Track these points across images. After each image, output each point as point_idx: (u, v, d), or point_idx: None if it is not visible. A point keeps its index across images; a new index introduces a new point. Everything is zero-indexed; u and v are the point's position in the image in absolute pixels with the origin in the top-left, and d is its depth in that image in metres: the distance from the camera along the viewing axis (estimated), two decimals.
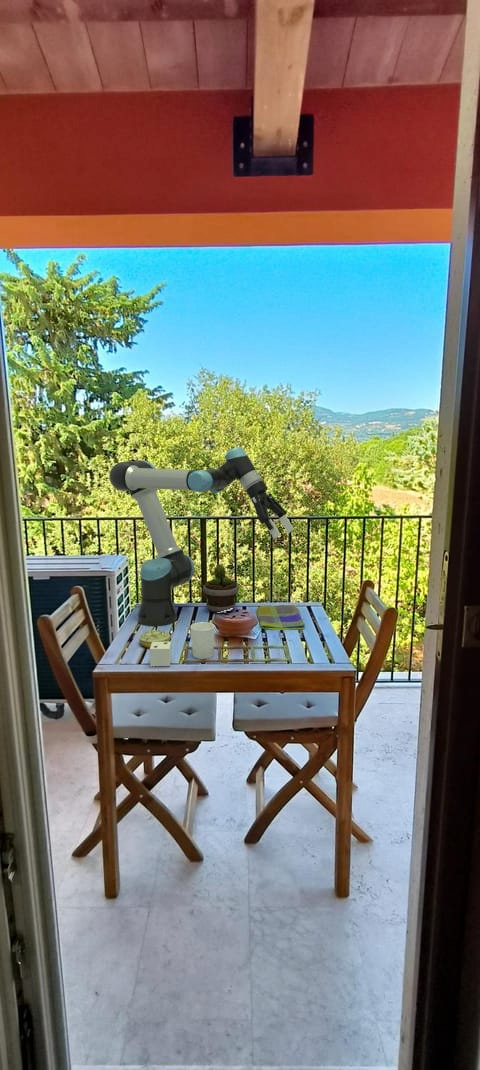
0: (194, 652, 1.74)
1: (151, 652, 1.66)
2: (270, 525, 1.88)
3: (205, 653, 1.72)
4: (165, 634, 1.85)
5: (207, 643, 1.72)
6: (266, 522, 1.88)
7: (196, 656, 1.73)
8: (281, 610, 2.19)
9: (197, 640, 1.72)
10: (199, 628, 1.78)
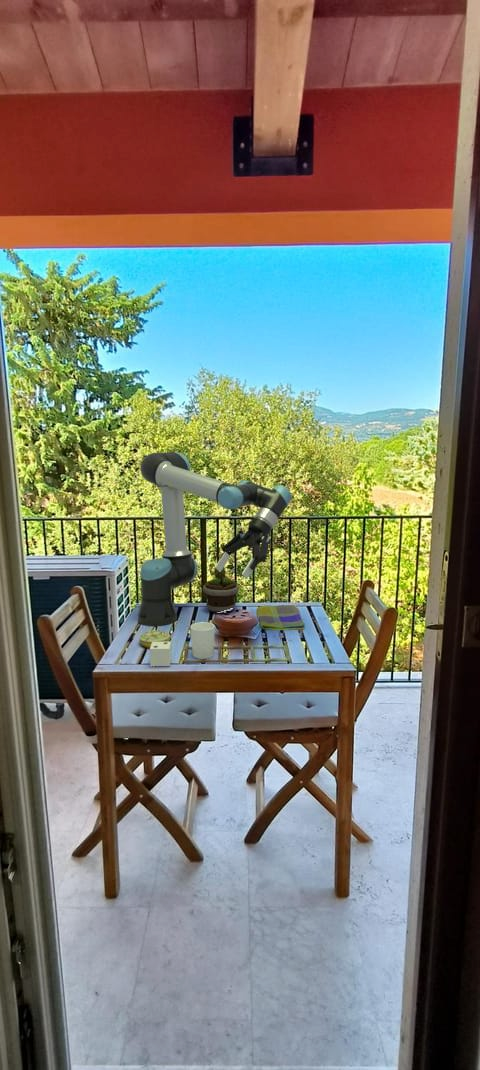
0: (194, 652, 1.74)
1: (151, 652, 1.66)
2: (255, 567, 1.76)
3: (205, 653, 1.72)
4: (165, 634, 1.85)
5: (207, 643, 1.72)
6: (257, 562, 1.76)
7: (196, 656, 1.73)
8: (281, 610, 2.19)
9: (197, 640, 1.72)
10: (199, 628, 1.78)
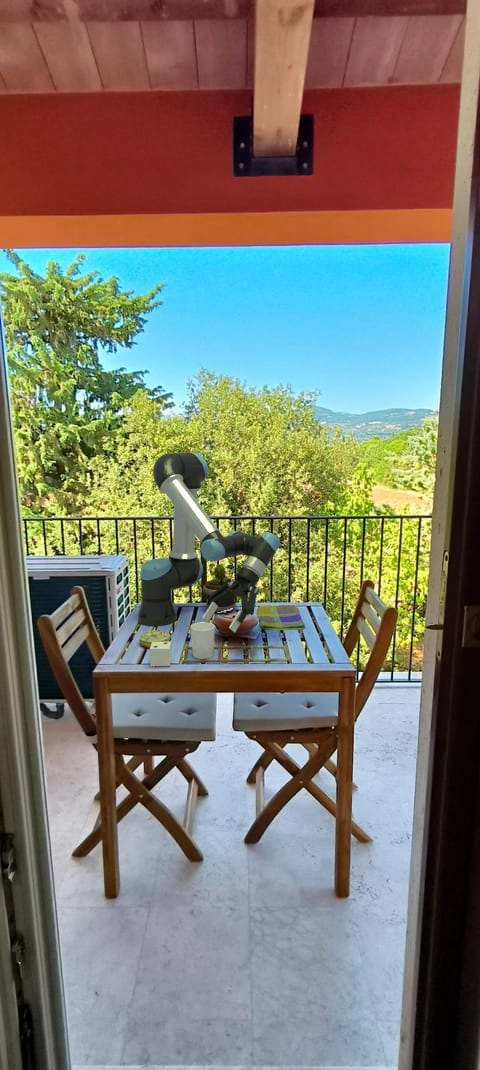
0: (194, 652, 1.74)
1: (151, 652, 1.66)
2: None
3: (205, 653, 1.72)
4: (165, 634, 1.85)
5: (207, 643, 1.72)
6: (245, 615, 1.73)
7: (196, 656, 1.73)
8: (281, 610, 2.19)
9: (197, 640, 1.72)
10: (199, 628, 1.78)
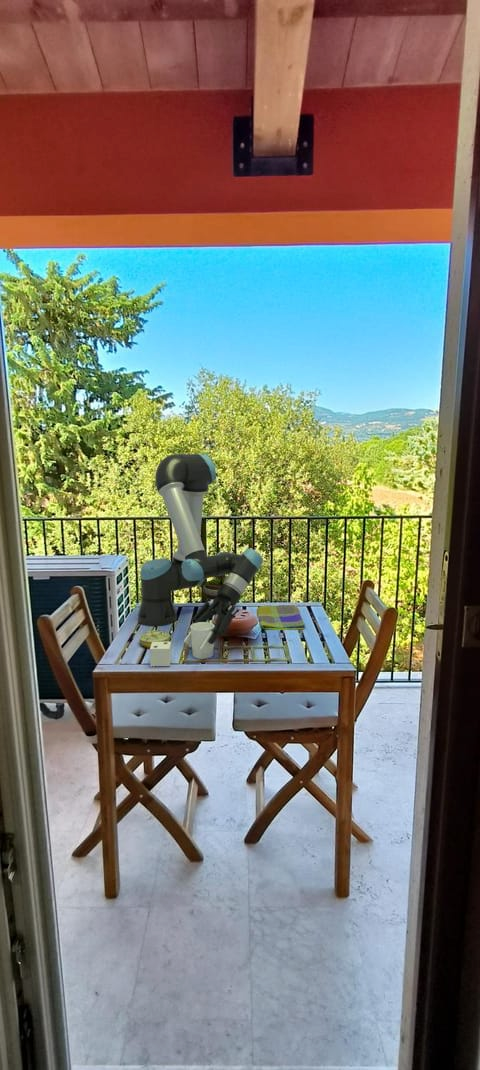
0: (194, 652, 1.74)
1: (151, 652, 1.66)
2: (214, 641, 1.71)
3: (205, 653, 1.72)
4: (165, 634, 1.85)
5: None
6: (216, 636, 1.71)
7: (196, 656, 1.73)
8: (281, 610, 2.19)
9: (197, 640, 1.72)
10: (199, 628, 1.78)
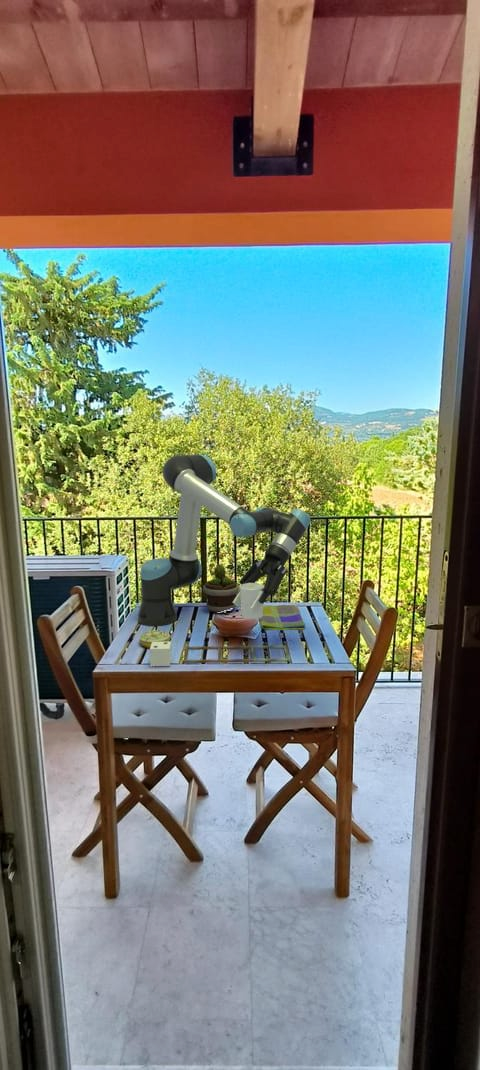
0: (244, 612, 1.71)
1: (151, 652, 1.66)
2: (265, 600, 1.68)
3: (255, 613, 1.69)
4: (165, 634, 1.85)
5: None
6: (266, 595, 1.68)
7: (246, 616, 1.70)
8: (282, 610, 2.19)
9: (247, 600, 1.68)
10: (247, 589, 1.75)
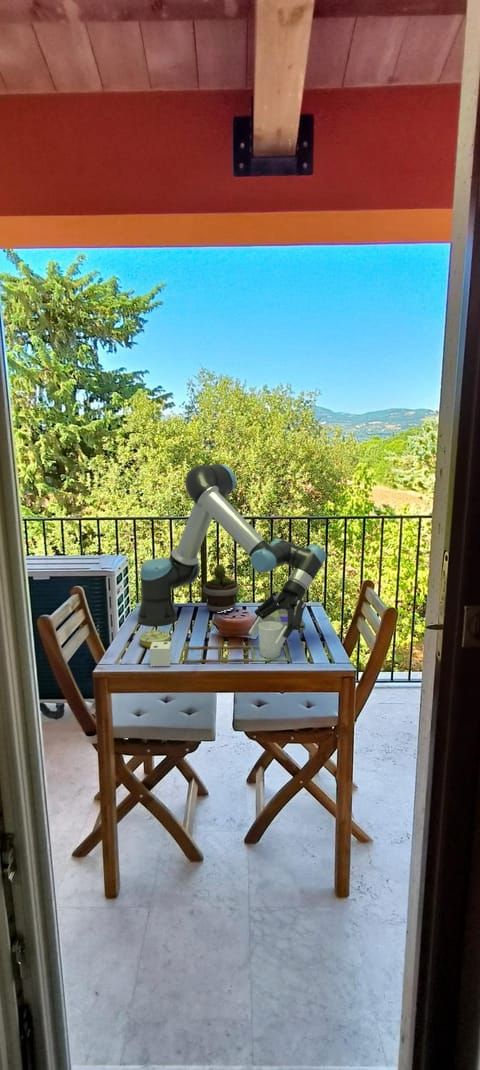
0: (262, 651, 1.74)
1: (151, 652, 1.66)
2: (289, 635, 1.71)
3: (274, 652, 1.73)
4: (165, 634, 1.85)
5: None
6: (291, 630, 1.71)
7: (264, 655, 1.74)
8: (282, 610, 2.19)
9: (266, 639, 1.72)
10: (266, 627, 1.79)
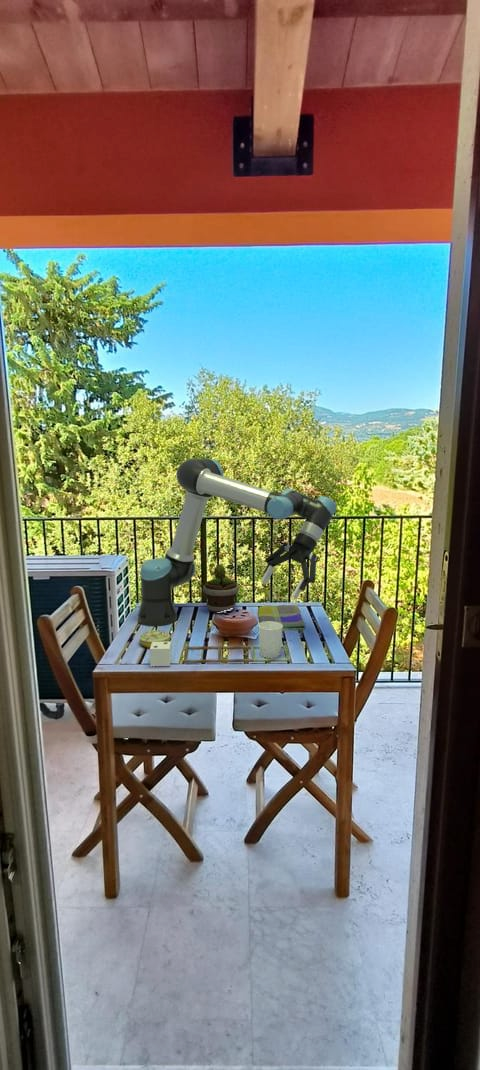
0: (262, 651, 1.74)
1: (151, 652, 1.66)
2: None
3: (274, 652, 1.73)
4: (165, 634, 1.85)
5: (276, 642, 1.73)
6: (306, 583, 1.79)
7: (264, 655, 1.74)
8: (282, 610, 2.19)
9: (266, 639, 1.72)
10: (266, 627, 1.79)
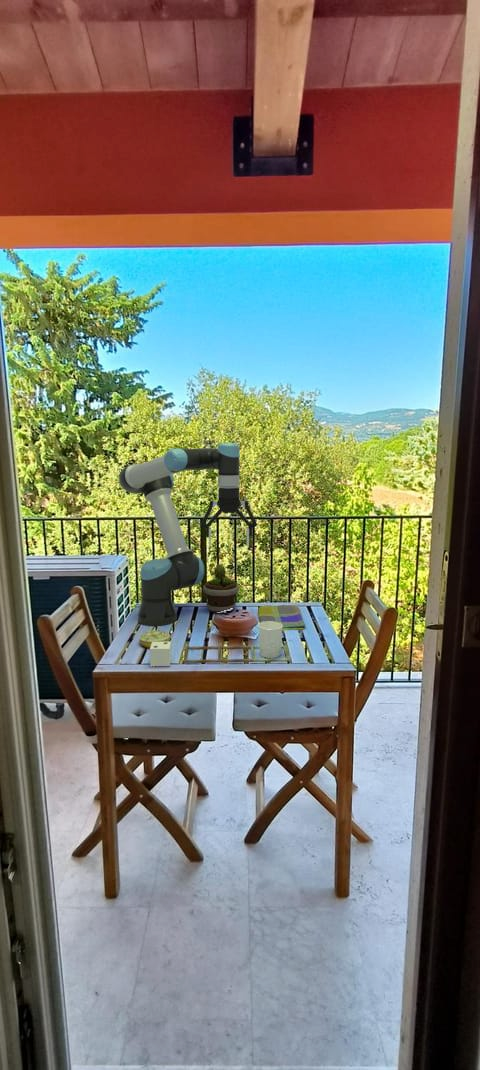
0: (262, 651, 1.74)
1: (151, 652, 1.66)
2: None
3: (274, 652, 1.73)
4: (165, 634, 1.85)
5: (276, 642, 1.73)
6: None
7: (264, 655, 1.74)
8: (282, 610, 2.19)
9: (266, 639, 1.72)
10: (265, 627, 1.79)
